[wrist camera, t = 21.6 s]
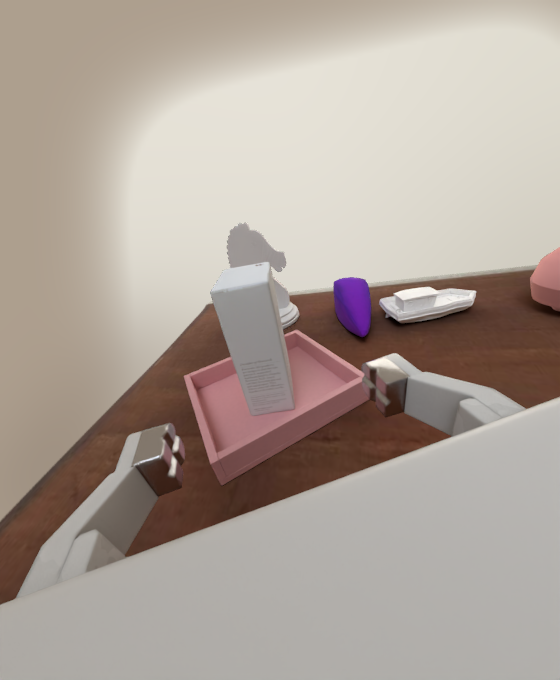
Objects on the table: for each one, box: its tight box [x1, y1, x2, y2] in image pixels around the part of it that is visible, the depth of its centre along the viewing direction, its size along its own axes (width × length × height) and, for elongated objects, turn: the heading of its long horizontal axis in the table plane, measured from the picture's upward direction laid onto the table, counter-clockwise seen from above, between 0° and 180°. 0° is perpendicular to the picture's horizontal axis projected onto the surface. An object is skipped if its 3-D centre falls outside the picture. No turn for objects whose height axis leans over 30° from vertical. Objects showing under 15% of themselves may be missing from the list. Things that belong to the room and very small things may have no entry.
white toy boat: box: [379, 287, 476, 323], centre depth 33 cm, size 6×12×3 cm, turn 93°
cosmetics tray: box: [184, 330, 369, 485], centre depth 25 cm, size 14×12×3 cm
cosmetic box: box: [210, 262, 295, 416], centre depth 22 cm, size 6×4×12 cm
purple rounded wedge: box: [334, 277, 371, 337], centre depth 35 cm, size 5×5×15 cm
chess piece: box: [227, 223, 299, 329], centre depth 38 cm, size 10×10×15 cm
